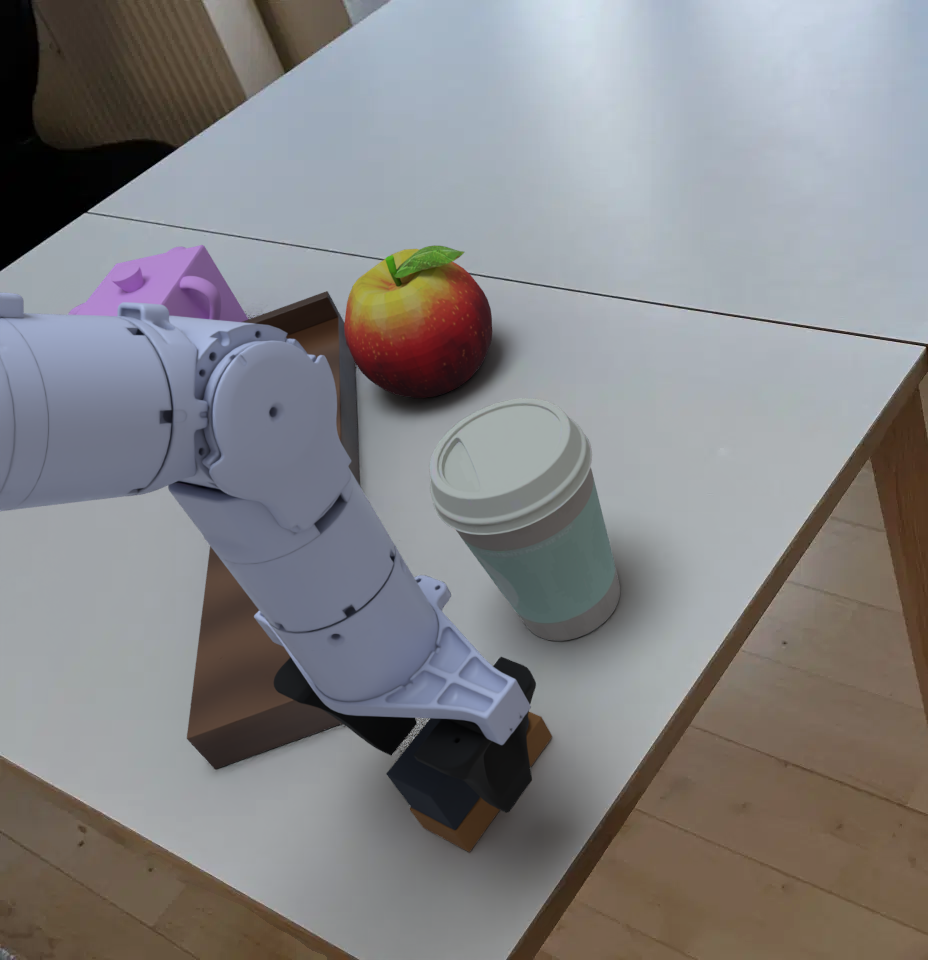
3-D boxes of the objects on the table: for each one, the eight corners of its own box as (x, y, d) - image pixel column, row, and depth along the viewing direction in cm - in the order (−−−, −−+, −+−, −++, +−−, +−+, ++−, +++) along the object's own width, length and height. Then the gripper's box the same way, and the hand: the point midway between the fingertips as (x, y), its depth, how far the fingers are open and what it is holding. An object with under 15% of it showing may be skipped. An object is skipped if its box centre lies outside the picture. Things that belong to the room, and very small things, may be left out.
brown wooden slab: (369, 714, 61) (328, 658, 57) (214, 769, 61) (165, 717, 57) (354, 340, 91) (327, 290, 88) (251, 377, 91) (221, 328, 88)
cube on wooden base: (469, 853, 52) (431, 799, 49) (422, 827, 54) (382, 774, 51) (553, 736, 56) (522, 680, 53) (506, 716, 58) (473, 660, 55)
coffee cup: (523, 548, 67) (449, 397, 59) (656, 543, 64) (598, 384, 57) (481, 662, 61) (394, 511, 53) (627, 661, 58) (556, 502, 51)
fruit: (390, 345, 89) (336, 238, 82) (517, 318, 87) (472, 207, 80) (361, 431, 81) (299, 320, 75) (500, 404, 79) (448, 288, 72)
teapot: (214, 432, 86) (143, 328, 80) (65, 458, 90) (-16, 360, 83) (286, 302, 99) (229, 203, 93) (153, 329, 103) (90, 235, 96)
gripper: (524, 549, 42) (621, 748, 51) (283, 473, 50) (403, 656, 59) (406, 692, 38) (533, 880, 47) (166, 585, 46) (313, 763, 55)
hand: (455, 764), depth 53 cm, fingers open, 7 cm apart
